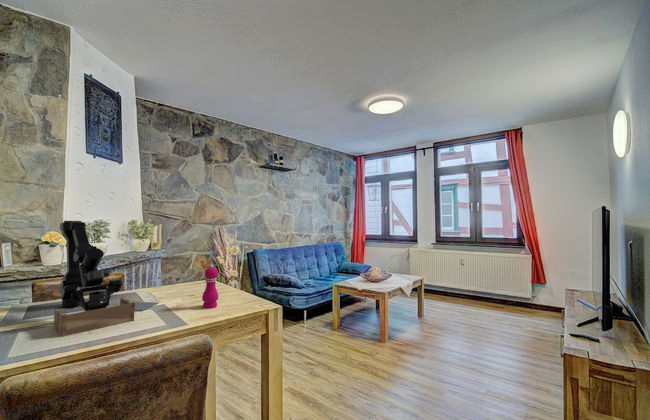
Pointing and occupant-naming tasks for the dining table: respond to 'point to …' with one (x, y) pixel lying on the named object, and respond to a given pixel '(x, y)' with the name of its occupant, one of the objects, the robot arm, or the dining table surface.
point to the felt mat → (143, 305)
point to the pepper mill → (210, 288)
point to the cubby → (93, 318)
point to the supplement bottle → (96, 301)
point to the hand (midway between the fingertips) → (97, 307)
